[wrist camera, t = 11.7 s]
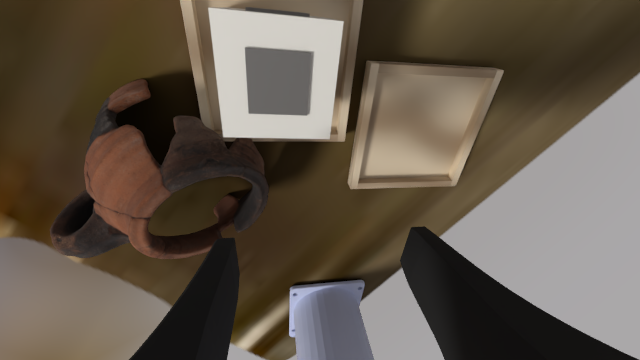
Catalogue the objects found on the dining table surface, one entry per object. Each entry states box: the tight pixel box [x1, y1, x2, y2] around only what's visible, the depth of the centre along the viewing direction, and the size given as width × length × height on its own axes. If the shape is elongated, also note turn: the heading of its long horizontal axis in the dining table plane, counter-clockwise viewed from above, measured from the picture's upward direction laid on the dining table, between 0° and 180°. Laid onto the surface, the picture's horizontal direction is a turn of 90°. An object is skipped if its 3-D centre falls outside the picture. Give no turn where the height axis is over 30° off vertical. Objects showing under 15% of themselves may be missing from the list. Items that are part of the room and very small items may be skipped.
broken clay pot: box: [50, 79, 269, 259], centre depth 16 cm, size 12×9×8 cm
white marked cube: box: [208, 7, 344, 139], centre depth 13 cm, size 5×5×5 cm
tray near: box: [180, 0, 363, 141], centre depth 15 cm, size 9×9×1 cm
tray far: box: [348, 61, 504, 189], centre depth 19 cm, size 9×9×1 cm
